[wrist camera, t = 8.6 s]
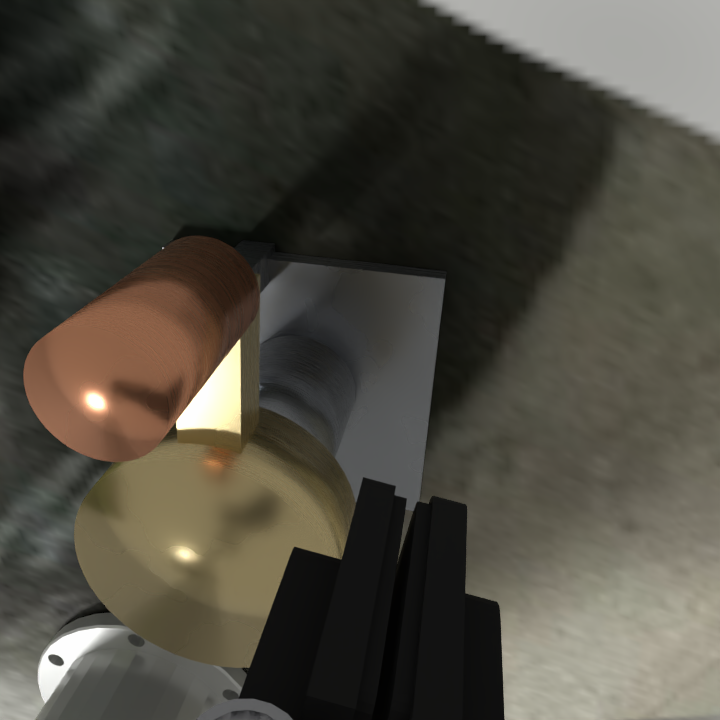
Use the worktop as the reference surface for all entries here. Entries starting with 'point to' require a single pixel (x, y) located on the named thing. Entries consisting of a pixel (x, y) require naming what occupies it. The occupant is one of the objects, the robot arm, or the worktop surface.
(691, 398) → the worktop surface
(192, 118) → the worktop surface
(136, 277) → the crank with handle
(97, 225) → the worktop surface
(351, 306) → the grey crank stand
